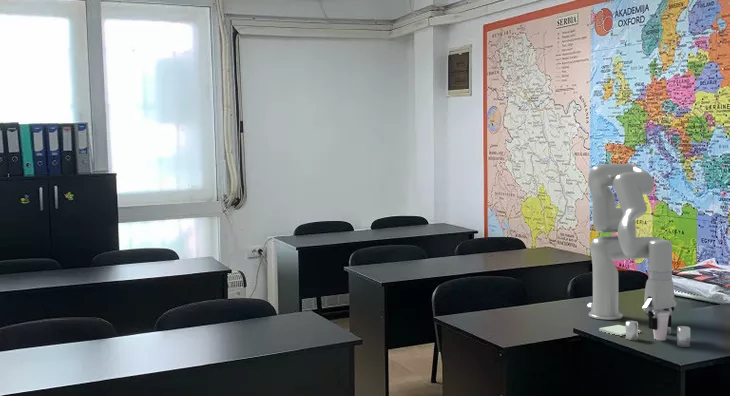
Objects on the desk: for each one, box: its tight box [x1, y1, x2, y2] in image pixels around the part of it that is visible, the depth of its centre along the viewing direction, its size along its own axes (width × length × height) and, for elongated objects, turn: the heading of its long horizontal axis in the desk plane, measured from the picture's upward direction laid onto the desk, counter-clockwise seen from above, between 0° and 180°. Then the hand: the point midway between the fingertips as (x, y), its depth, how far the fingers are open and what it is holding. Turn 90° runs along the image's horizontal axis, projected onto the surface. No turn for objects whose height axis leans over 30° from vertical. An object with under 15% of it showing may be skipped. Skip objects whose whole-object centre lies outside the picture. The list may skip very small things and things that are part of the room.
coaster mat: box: [598, 324, 642, 336], centre depth 255 cm, size 10×10×1 cm
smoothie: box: [652, 309, 670, 341], centre depth 244 cm, size 6×6×14 cm
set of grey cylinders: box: [625, 320, 691, 348], centre depth 242 cm, size 18×20×6 cm
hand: (659, 327), depth 244 cm, fingers closed on smoothie, 6 cm apart
